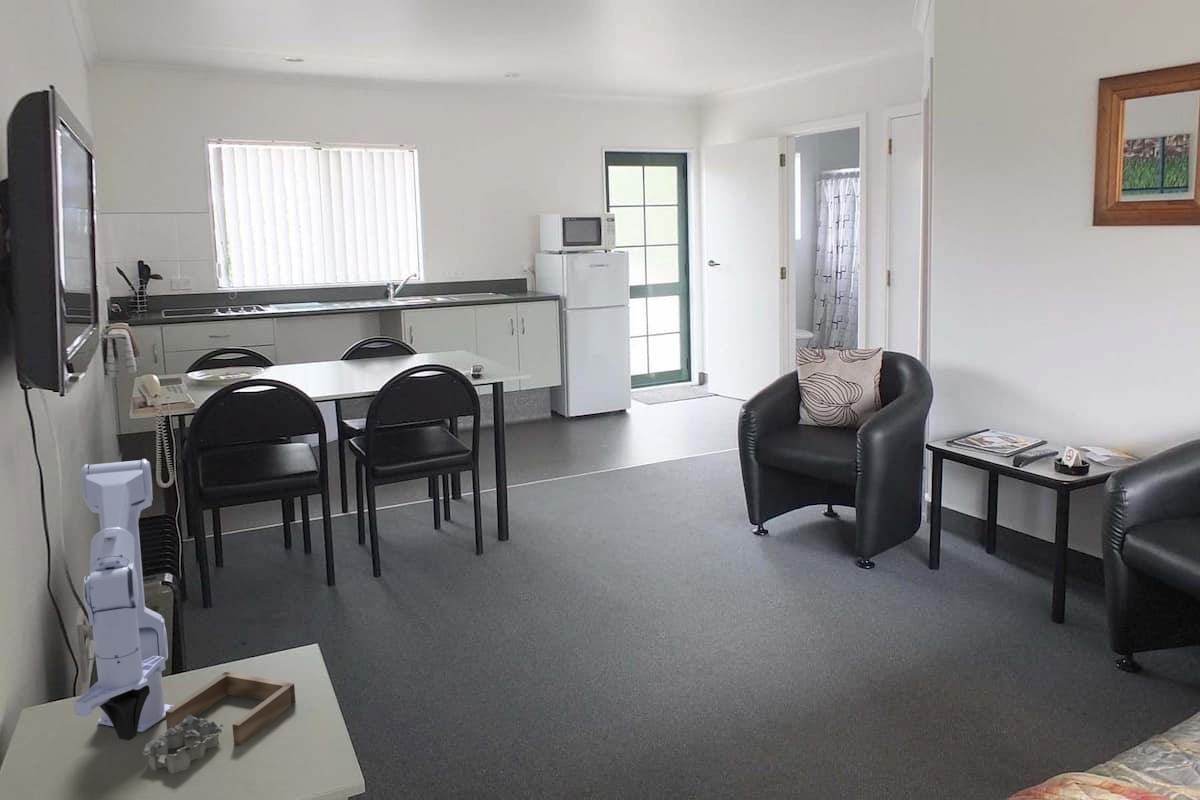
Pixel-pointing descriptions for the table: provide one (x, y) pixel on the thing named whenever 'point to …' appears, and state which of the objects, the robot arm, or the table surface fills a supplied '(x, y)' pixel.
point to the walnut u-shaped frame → (271, 691)
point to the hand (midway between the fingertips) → (127, 737)
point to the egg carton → (173, 738)
